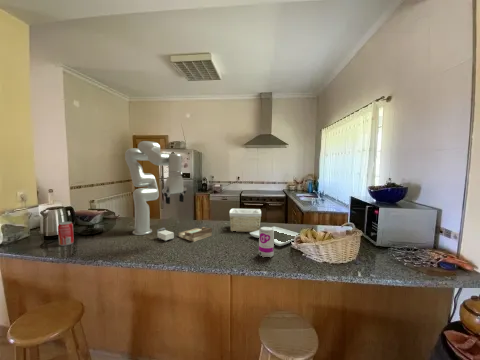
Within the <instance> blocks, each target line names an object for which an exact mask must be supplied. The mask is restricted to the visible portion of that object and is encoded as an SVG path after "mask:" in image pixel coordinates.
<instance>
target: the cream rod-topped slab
mask: <svg viewBox="0 0 480 360" xmlns="http://www.w3.org/2000/svg"><path fill="white" fill-rule="evenodd" d="M156 234H157V238H158V240H159V241H160V240H163V243H165V242H168V240H170V241H172V240H174V237H175V233H174V232H173V231H169V230H166V227H161V228H158V229H157V230H156Z"/></svg>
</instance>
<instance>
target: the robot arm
mask: <svg viewBox="0 0 480 360" xmlns="http://www.w3.org/2000/svg"><path fill="white" fill-rule="evenodd" d="M124 159H125V162H126V165H127V167H128V170H129V173H130V178H131V181H132V184H133V186H134V187H136V188H137V189H134V191H133V192H132V197H133V203H134V226H133V227H134V230H132V234H133V235H135V236H143V235H148V234H151V233H152V232H153V229H152V228H150V226H151V225H150V224H151V223H150V222H151V221H150V215H151V214H150V205H149V204H148V203H147V202H149V201H157V200H158V199H159V196H160V192H159V191H160V190H159V187H158V183H157V179H156V177H155V175H154V174H152V173H149V172H148V173H146V172H144V169H143V165H141V164H140V163H139V161H142V162H143V161H149V162H150V163H151V164H153V165H155V166H161V167H162V166H165V167H166V166H167V167H168V171H167V172H168V176H167V177H166V180H165V187H164V188H162V189H161V193H162V195H163V197H165V204H166V205H170V204H171V197H170V196H171V194H172V195H173V194H179V199H178V201H179V202H180V203H184V196H185V194H186V192H187V189H188V188H187V187H186V186H184V179H183V176H182V175H183V174H184V173H183V172H182V159H183V158H182V154H180V153H168V152H165V153H164V152H161V144H159V143H158V142H156V141H149V140H142V141H139V142H138V144H137V148H136V147H134V148H133V147H131V148H128V149H127V150H126V151H125V154H124Z"/></svg>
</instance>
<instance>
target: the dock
mask: <svg viewBox="0 0 480 360" xmlns="http://www.w3.org/2000/svg"><path fill="white" fill-rule="evenodd" d="M212 231H213V228H212V227H205V226H202V227H201V228H199V227H195V228H191V229H186V230H183V231H180V232H177V237H179V238H181V239H183V240H188V241H189V242H194V243H195V242H197V241H201V240H203V239H207V238H209V237H212V236H213V235H212V234H213V232H212Z"/></svg>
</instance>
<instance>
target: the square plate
mask: <svg viewBox="0 0 480 360" xmlns="http://www.w3.org/2000/svg"><path fill="white" fill-rule="evenodd" d="M270 227H271V228H273V230H274V231H277V232H279V233H284V234H287V235H291V236H296V235H298V234H300V233H299V232H296V231H291V230H289V229H287V228H282V227H278V226H270ZM249 234H250V236H252V237H253V238H257V239H258V238H259V230H258V231H254V232H249ZM292 241H294V239H291V240H288V241H286V242H281V241H278V240H277V239H274V244H275V245H274V246H277V247H282V246H284V245H287V244H290V242H291V243H293V242H292ZM294 242H295V241H294Z"/></svg>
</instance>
